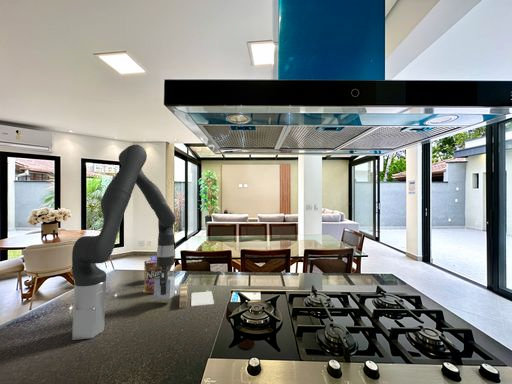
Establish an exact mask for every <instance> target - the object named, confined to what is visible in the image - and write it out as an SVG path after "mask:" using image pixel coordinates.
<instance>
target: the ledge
mask: <svg viewBox="0 0 512 384" xmlns="http://www.w3.org/2000/svg"><path fill="white" fill-rule="evenodd" d="M188 285H189V284H188V283H183V284H182V283H181V284H180V291H179V304H178V305H179V307H178V308H179V309H182V308H187V306H188Z"/></svg>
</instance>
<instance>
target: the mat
mask: <svg viewBox="0 0 512 384" xmlns="http://www.w3.org/2000/svg"><path fill="white" fill-rule="evenodd" d="M190 297H191V300H190V301H191V302H190V303H191V304H190V305H191V307H192V308H193V307H202V306H204V307H205V306H214V305H215V301H214V297H213V291H200V292H199V291H198V292H191V296H190Z"/></svg>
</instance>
